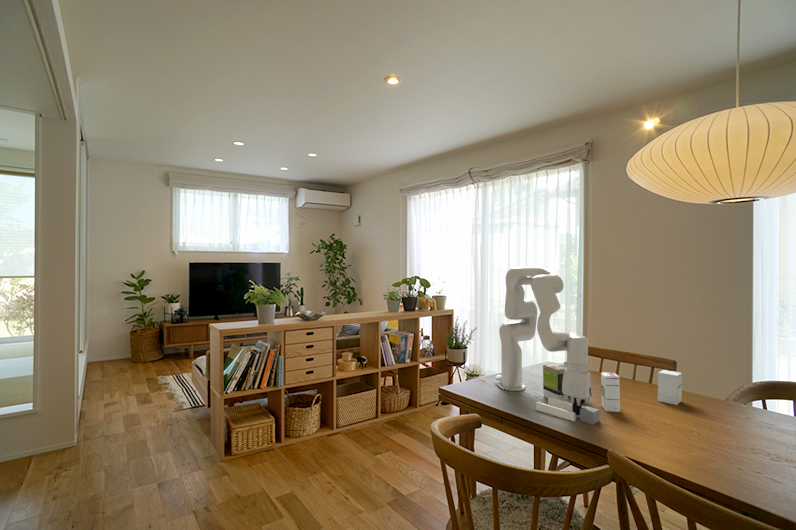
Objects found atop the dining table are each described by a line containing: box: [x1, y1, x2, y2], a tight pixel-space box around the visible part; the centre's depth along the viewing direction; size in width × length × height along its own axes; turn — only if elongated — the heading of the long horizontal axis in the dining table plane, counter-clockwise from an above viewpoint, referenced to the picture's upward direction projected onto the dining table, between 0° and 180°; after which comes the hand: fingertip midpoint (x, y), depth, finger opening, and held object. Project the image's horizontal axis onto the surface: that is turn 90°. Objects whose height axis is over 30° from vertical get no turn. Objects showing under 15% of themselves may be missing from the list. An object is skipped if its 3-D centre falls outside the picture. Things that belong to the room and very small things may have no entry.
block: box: [579, 405, 600, 426], centre depth 153 cm, size 5×5×4 cm
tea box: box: [542, 362, 578, 403], centre depth 179 cm, size 15×10×15 cm, turn 108°
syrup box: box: [600, 372, 621, 413], centre depth 165 cm, size 6×6×14 cm
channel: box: [535, 397, 584, 422], centre depth 162 cm, size 16×10×3 cm, turn 39°
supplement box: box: [657, 369, 683, 406], centre depth 175 cm, size 7×7×13 cm
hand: (577, 414), depth 157 cm, fingers closed
